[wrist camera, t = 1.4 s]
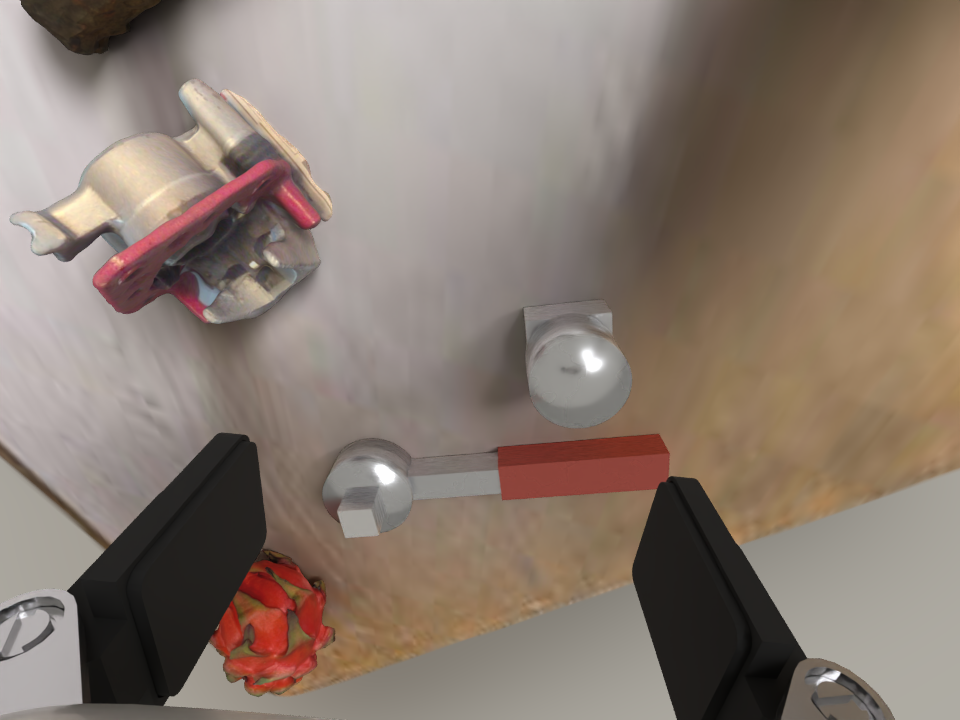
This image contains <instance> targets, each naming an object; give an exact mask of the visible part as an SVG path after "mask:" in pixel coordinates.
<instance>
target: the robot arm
mask: <svg viewBox="0 0 960 720" xmlns="http://www.w3.org/2000/svg"><path fill="white" fill-rule="evenodd" d="M266 533H267V531H266V521H265V513H264V504H263V496H262V487H261V479H260V471H259V462H258V454H257V447H256V444H255V443H254V442H250V440H249V438H248V436H246V435H241V434H231V433H218V434H217V435H216V436H215V437H214V438H213V439H212V440H211V441H210V442H209V443H208V444H207V445H206V446H205V447H204V448H203V450H202V451H201V452H200V453H199V454H198V455H197V456H196V457H195V458H194V459H193V460H192V461H191V462H190V463H189V464H188V465H187V466H186V467H185V469H184V470H183V471H182V472H181V473H180V474H179V475H178V476H177V477H176V478H175V479H174V480H173V481H172V482H171V483H170V484H169V485H168V487H167V488H166V489H165V490H164V491H162V492H161V493H160V494H159V495H158V496H157V497H156V498H155V499H154V500H153V501H152V502H151V503H150V504H149V505H148V506H147V507H146V508H145V509H144V510H143V511H142V513H141V514H140V515H139V516H138V517H137V518H136V519H135V520H134V521H133V522H132V523H131V524H130V525H129V526H128V527H127V528H126V529H125V530H124V531H123V533H122V534H121V535H120V536H119V537H118V538H117V539H116V540H115V541H114V542H113V543H112V544H111V545H110V546H109V547H108V548H107V549H106V550H105V551H104V553H103V554H102V555H101V556H100V557H99V558H98V559H97V560H96V561H95V562H94V563H93V564H92V565H91V566H90V567H89V568H88V569H87V570H86V572H85V573H84V574H83V575H82V576H81V577H80V578H79V579H78V580H77V581H76V582H75V583H74V584H73V585H72V586H71V587H70V588H69V589H68V590H67V591H65V590H59V589H42V590H36V591H32V592H29V593H25V594H21V595H18V596H16V597H14V598H12V599H9V600H7V601H5V602H3V603H1V604H0V720H340V719H326V718H315V717H302V716H291V715H279V714H265V713H254V712H242V711H230V710H217V709H201V708H186V707H170V706H164V704H165V702H166V701H167V699H168V697H169V696H175V695H176V694H178V693H179V692H180V690H181V689H182V687H183V686H184V684H185V682H186V680H187V679H188V677H189V675H190V673H191V671H192V670H193V668H194V666H195V664H196V663H197V661H198V659H199V657H200V656H201V654H202V652H203V651H204V649H205V647H206V645H207V644H208V642H209V640H210V638H211V637H212V635H213V633H214V631H215V630H216V628H217V626H218V624H219V623H220V621H221V619H222V617H223V616H224V614H225V612H226V610H227V609H228V607H229V605H230V603H231V602H232V600H233V598H234V596H235V595H236V593H237V591H238V589H239V587H240V586H241V584H242V582H243V580H244V579H245V577H246V575H247V573H248V572H249V570H250V568H251V566H252V565H253V563H254V561H255V559H256V558H257V556H258V554H259V552H260V551H261V549H262V547H263V545H264V542H265V539H266ZM632 576H633V581H634V585H635V588H636V591H637V594H638V597H639V601H640V604H641V607H642V610H643V613H644V616H645V619H646V623H647V626H648V629H649V632H650V635H651V638H652V642H653V645H654V648H655V651H656V654H657V658H658V661H659V664H660V667H661V670H662V673H663V677H664V680H665V683H666V686H667V689H668V692H669V696H670V699H671V702H672V705H673V708H674V711H675V715H676V718H677V720H895V718H894V716H893V714H892V712H891V711H890V709H889V707H888V706H887V705H886V703H885V702H884V701H883V699H882V698H881V697H880V696H879V694H877V692H876V691H874V690H873V689H872V688H871V687H870V686H869V685H868V684H867V683H866V682H865V681H864V680H862V679H861V678H860V677H858V676H857V675H855V674H854V673H853V672H851V671H850V670H848V669H846V668H844V667H842V666H840V665H838V664H836V663H834V662H831V661H827V660H824V659H820V658H818V659H817V658H815V659H814V658H808V659H807V657H806V656H805V654H804V652H803V651H802V649H801V647H800V646H799V644H798V642H797V641H796V639H795V638H794V636H793V634H792V632H791V631H790V629H789V627H788V626H787V624H786V623H785V621H784V619H783V618H782V616H781V614H780V613H779V611H778V610H777V608H776V606H775V604H774V603H773V601H772V599H771V598H770V596H769V595H768V593H767V591H766V589H765V588H764V586H763V584H762V583H761V581H760V580H759V578H758V576H757V575H756V573H755V571H754V570H753V568H752V566H751V565H750V563H749V561H748V560H747V558H746V556H745V555H744V553H743V551H742V550H741V549H740V547H739V546H738V545H737V544H736V543H735V541H734V539H733V538H732V536H731V534H730V533H729V531H728V530H727V528H726V526H725V525H724V523H723V521H722V520H721V518H720V516H719V515H718V513H717V511H716V510H715V508H714V506H713V505H712V503H711V501H710V500H709V498H708V496H707V495H706V493H705V491H704V490H703V488H702V486H701V485H700V483H699V482H698V480H696V479H694V478H684V477H674V476H671V477H669V478H668V479H667V480H666V482H660V484H659V485H658V488H657V491H656V494H655V497H654V501H653V504H652V507H651V510H650V513H649V516H648V519H647V522H646V526H645V529H644V532H643V535H642V538H641V541H640V544H639V547H638V551H637V554H636V557H635V560H634V563H633V568H632Z"/></svg>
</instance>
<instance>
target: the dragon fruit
mask: <svg viewBox="0 0 960 720" xmlns="http://www.w3.org/2000/svg"><path fill="white" fill-rule="evenodd" d="M262 551H263V552H264V553H266V554H267V556H268V557H269V559H270V560H271V561H272V562H271V561H268V560H262V561H259V562H254V563H253V565H252V566H251V568H250V570H249V572H248V573H247V575H246V577H245V579H244V580H243V582H242V584H241V586H240V587H239V589H238V591H237V593H236V595H235V596H234V598H233V600H232V602H231V603H230V605H229V607H228V609H227V610H226V612H225V614H224V616H223V617H222V619H221V621H220V623H219V624H220V625H219V628H218V630H216V631H214V633H213V635H212V637H211V638H210V640H209V642H210V644H212V645H213V646H214V647H215V648H216V650H217V652H219V654H220V655H221V656H224V657H225V662H224V664H223V670H224V671H225V673H226V677H227V679H228V681H229V682H231V683H233V682H236V681H238V680H240V679H243V680H245V683H244V686H245V690H246V691H247V692H248V693H249V694H251V695H253V696H257V697H259V696H262V695H263V694H265V693H267V692H268V691H269V690H270V692H273V693H276V694H278V695H280V694H282V693H284V692H285V691H287V690H288V689H289V688H290V687H292V686H294V685H296V684H297V683H299V682H300V681H301V680H302V677H303V676H304V675H306V674H308V673H310V672H311V671H312V670H314V669H315V668H316V667H317V661H316V659H317V656H316V653H315V652H316V651H317V650H319V649H321V648H326V646H328V645H329V644H331V643H333V642H334V641H335V629H333V628H331V627H328V626H324V625H323V624H322V613H323V608H324V605H325V603H326V587H325V583H324V582H323V581H322V580H319V581H316V582H315V583H314V585H313V587H311V585H310V584H309V582H308V581H307V579H306V578H305V577H304V576H303V575H302V573H300V569H299V567H298V566H297V565H295V564H294V563H292V562H291V561H292V559H291V558H289V557H286V556H284V555H282V554H280V553H277V552H272V551H270V550H267V551H266V550H262Z"/></svg>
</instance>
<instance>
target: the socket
mask: <svg viewBox="0 0 960 720" xmlns="http://www.w3.org/2000/svg"><path fill="white" fill-rule="evenodd" d="M523 310H524V322H525V333H526V345H527V347H526V352H525V362H526V370H527V378H528V385H529V392H530V397H531V400H532V402H533V404H534V406H535V408H536V409H537V411H538V412H539V413H540V414H541V415H542V416H543V417H544V418H546V419H547V420H549V421H550V422H552V423H554V424H556V425H559V426H562V427H567V428H586V427H591V426H595V425H598V424H600V423H602V422H604V421H606V420H608V419H610V418H611V417H612V416H614V415H615V414H616V413H617V412H618V411H619V410H620V409H621V408H622V407H623V405H624V404H625V402H626V400H627V399H628V396H629V394H630V391H631V387H632V373H631V369H630V366H629V364H628V362H627V360H626V358H625V357H624V355H623V353H622V351H621V350H620V348H619V346H618V345H617V343H616V341H615V339H614V338H613V336H612V311H611V310H610V308H609V307H608V305H607V304H606V302H605V301H604V299H600V300H590V301H581V302H571V303H562V304H552V305H543V306H533V307H523Z"/></svg>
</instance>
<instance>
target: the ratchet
mask: <svg viewBox="0 0 960 720" xmlns="http://www.w3.org/2000/svg"><path fill="white" fill-rule="evenodd" d="M669 456H670V453H669V451H668V450H667V448H666V446H665V444H664V442H663V440H662V439H661V437H660V435H659V434H654V435H641V436H629V437H617V438H605V439H592V440H580V441H568V442H556V443H543V444H531V445H519V446H507V447H498V452H491V453H479V454H467V455H454V456H442V457H429V458H417V459H412V458H411V457H410V455H409V454H408V453H407V452H406V451H405V450H403V449H402V448H401V447H399V446H397V445H396V444H394V443H391V442H389V441H385V440H381V439H362V440H358V441H355V442H353V443H351V444H349V445H348V446H346V447H345V448H344V449H343V450H342V451H341V452H340V454H339V455H338V457H337V459H336V461H335V463H334V465H333V467H332V469H331V471H330V473H329V475H328V477H327V479H326V481H325V483H324V486H323V491H322V497H323V502H324V505H325V507H326V509H327V511H328V512H329V514H330V515H331V516H332V517H333V518H334V519H335V520H336V521H337V522H339V523H340V524H341V526H342V529H343V532H344V535H345V538H352V537H367V536H379V534H380V533H382V532H387V531H390V530H392V529H394V528H396V527H398V526H399V525H400V524H402V523H403V522H404V521H405V519H406V518H407V516H408V515H409V512H410V510H411V505H412V501H413V500H421V499H435V498H448V497H462V496H476V495H489V494H502V500H512V499H525V498H539V497H553V496H567V495H580V494H594V493H608V492H622V491H635V490H649V489H657V488H658V485H659V484H660V482H666V480H667V479H668V474H669Z"/></svg>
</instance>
